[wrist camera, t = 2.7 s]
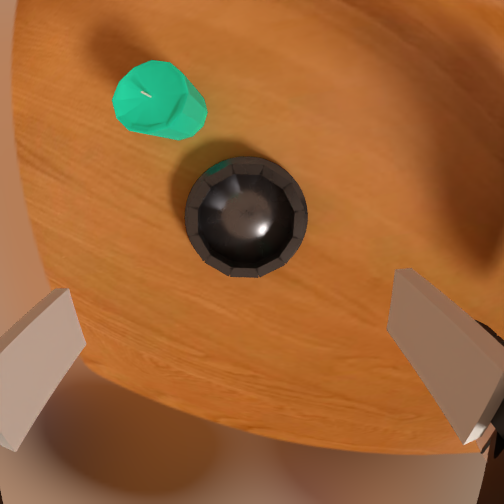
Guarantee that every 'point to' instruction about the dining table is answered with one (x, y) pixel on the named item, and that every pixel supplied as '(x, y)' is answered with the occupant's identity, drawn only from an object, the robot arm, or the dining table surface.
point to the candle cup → (246, 216)
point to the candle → (159, 102)
